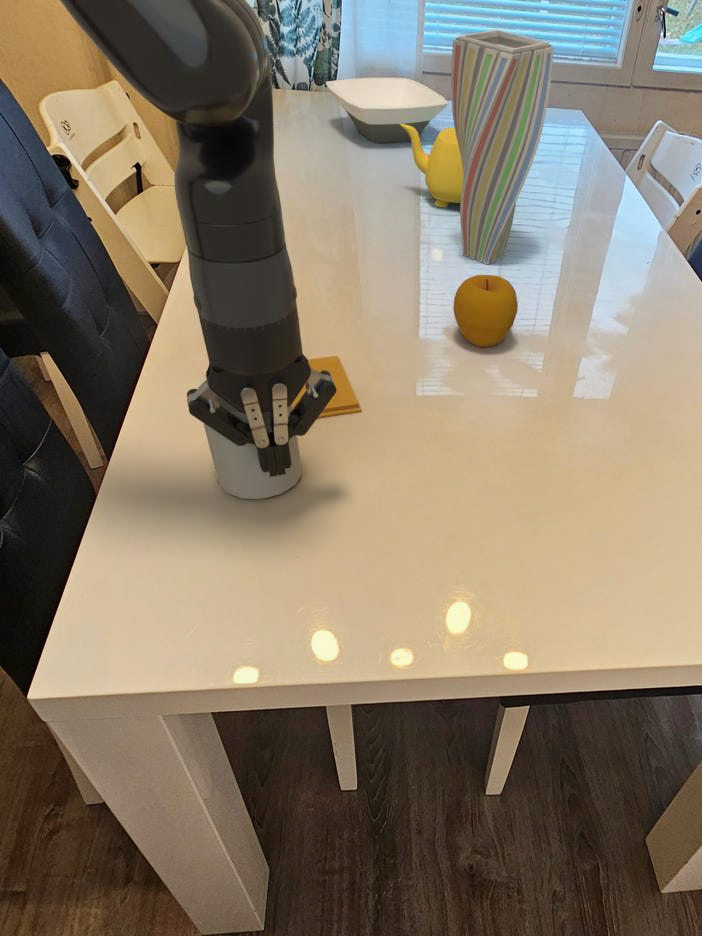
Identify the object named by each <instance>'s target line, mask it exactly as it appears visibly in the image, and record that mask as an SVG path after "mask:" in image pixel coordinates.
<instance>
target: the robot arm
mask: <svg viewBox="0 0 702 936" xmlns="http://www.w3.org/2000/svg"><path fill="white" fill-rule="evenodd" d="M59 2H60V3H61V4H62V5H63V7H64V8H65V10H66V12H68V14H69V15H70V16H71V17H72V19H73V20H74V22H76V24H77V26H79V28H80V29H81V30H82V31H83V32H84V33H85V34H86V36H87V37H88V38H89V40H91V42H93V44H94V45H95V46H96V48H98V50H99V51H100V52H101V54H103V56H104V57H105V58H106V60H108V62H109V63H110V64H111V65H112V66H113V67H114V68H115V69H116V71H117V72H118V73H119V74H120V75H121V76H122V77H123V79H124V80H125V81H126V82H127V83H128V84H129V85H130V86H131V87H132V88H133V89H134V90H135V91H136V92H137V93H139V95H140V96H142V97H143V98H144V99H145V100H146V101H148V102H149V103H150V104H151V105H153V107H155V108H156V109H157V110H159V111H161V112H162V113H163V114H165V115H166V116H168V118H171V119H173V120H174V121H175V123H174V124H175V128H176V134H177V140H178V155H177V160H176V165H175V169H174V177H173V178H174V179H173V181H174V182H173V183H174V193H175V199H176V205H177V209H178V214H179V218H180V222H181V228H182V232H183V236H184V240H185V244H186V250H187V255H188V270H189V278H190V285H191V287H192V288H191V289H192V292H193V302H194V306H195V308H196V310H197V314H198V319H199V323H200V328H201V332H202V337H203V341H204V345H205V350H206V354H207V359H208V367H207V369H206V372H205V377H206V378H205V379H207V382H206V383H204V384H203V385H202V386H201V387H200V388H199V389H198V388H191V389H189V390H187V392H186V401H187V408H188V412H189V414H190V415H191V416H192V417H194V418H196V419H197V420H198V421H200V422H201V423H202V424H203V425H204V424H206V425H207V426H209V427H210V428H212V429H213V430H215V431H216V432H218V433H219V434H221V435H222V436H224V437H225V438H227V439H228V440H230V441H231V442H233V443H234V444H236V445H237V446H243V445H245V444H247V443H250V444H253V445H255V446H256V448H257V454H258V459H259V463H260V467H261V470H262V471H263V472H269V474H270V477H273V476H279V475H284V474H286V472H285V469H287V468H290V467H291V464H292V463H291V456H290V449H289V440H290V438H292V437H293V436H295V435H297V437H303V436H305V435H306V434H307V433H308V432H309V430H310V429H311V428H312V427H313V425H314V423H315V422H316V421H317V419H319V418H318V416H319V415H320V414H321V412H322V411H323V410H324V408H325V407H326V406H327V404H328V403H329V401H330V400H331V399H332V397H333V396H334V395H335V393H336V391H337V390H336V387H335V384H334V382H333V379H332V377H331V374H330V373H329V372H328V371H326V370H324V371H321V372H318V371H316V370H314V369H312V368H311V367H310V365H309V362H308V358H307V357H306V355H304V353H303V344H302V337H301V336H302V335H301V328H300V320H299V311H298V305H297V298H298V293H297V291H298V290H297V287H296V285H295V279H294V272H293V267H292V263H291V259H290V256H289V255H290V254H289V252H288V248H287V243H286V242H287V241H286V235H285V227H284V226H285V225H284V219H283V211H282V203H281V196H280V192H279V191H280V190H279V185H278V182H277V176H276V175H277V174H276V165H275V151H274V150H275V149H274V148H275V129H274V128H275V127H274V125H275V124H274V100H273V99H274V96H273V82H272V81H273V80H272V70H271V69H272V67H271V60H270V51H269V48H268V43H267V39H266V36H265V35H266V34H265V31H264V29H263V27H262V24H261V22H260V19H259V18H258V16H257V15H256V12H255V11H254V10H253V8H252V7H251V5H250V4H249V3H248V1H247V0H59ZM305 383H306V385H305ZM304 385H305V387H306V392H305V393H304V394H303V396H302V397H301V399H300V400H299V401H298V403H297V404H296V406H295V407H294V409H293V410H292V411H291V413H290V415H289V416H288V409H287V407H289V406H290V405H291V404H292V403H293V402H294V400H295V399H296V397H297V396H298V394H299V393H300V391H301V390H302V388H303V386H304ZM216 394H217V395H218V396H219V397H221V398H222V399H223V400H224V401H226V402H227V403H228V404H230V405H231V406H232V407H234V408H235V409H236V410H237V411H239V412H241V413H244V414H247V417H248V421H249V423H244V422H243V421H242V420H240V419H239V418H238V417H236V416H235V415H233V414H232V413H230V412H229V411H228V410H226V409H225V408H223V407H222V406H221V405H219V401H218V397H217V396H216ZM265 412H270V425H271V429H272V432H270V434H269V433H268V432H267V429H266V427H265V424H264V420H263V416H262V413H265ZM270 437H271V438H270ZM277 472H278V473H277Z"/></svg>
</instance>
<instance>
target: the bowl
mask: <svg viewBox="0 0 702 936" xmlns="http://www.w3.org/2000/svg"><path fill="white" fill-rule="evenodd" d="M325 85H326V87H327V89H328V91H329V92H330V93H331V94H332V96H333V97H334V98H335V100H336V101H337V102H338V103H339V105H340V106H341V107H342V108H343V109H344V110H345V112H346V114H347V115H348V118H349V119H350V120H351V122H352V123H353V125H354V126H355V128H356V130H357V131H358V132H359V133H360V134H361V135H362V136H363V137H364V138H366V139H367V140H368V141H370V142H372V143H375V144H393V143H396V144H397V143H404V142H411V138H410V136H409V134H408V132H407V131H406V130H405V129H404V128H403V127H402V126H401V125H400V124H405V125H409V126H412V127H414V128H415V129H416V130H417V132H418V134H419V136H420V135H421V133H422V132H423V131H424V130H425V128H426V127H427V126H428V125H429V123H430V122H432V120H434V119H435V118H436V117H437V116H438V115H439V114H440V113H441V112H442V111H443V110H444V109H445V108H446V107H447V106H448V105H449V101H447V100H446V98H445V97H444V96H442V95H441V94H439V93H437V92H436V91H435V90H433V89H431V88H430V87H427V86H426V85H424V84H422V83H420V82H418V81H416V80H413V79H411V78H408V77H361V78H360V77H358V78H344V79H335V80H328V81H325Z"/></svg>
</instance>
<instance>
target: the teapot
mask: <svg viewBox="0 0 702 936" xmlns="http://www.w3.org/2000/svg"><path fill="white" fill-rule="evenodd" d="M400 125H401V126H402V127H403V128H404V129H405V130H406V131H407V132H408V134H409V136H410V138H411V141H410V142H411V147H412V156H413V160H414V163H415V165H416V168H417V169H418V170H419V171H420V172H421V173H422V174H424V181H425V185H426V187H427V190H428V192H429V193H430V195H431V197H432V198H434V199H435V201H434V205H435V206H436V207H438V208H439V207H440V208H446V207H448V206H449V205H450V203H455V204H461V195H462V189H463V166H462V159H461V155H460V150H459V146H458V142H457V137H456V132H455V127H447V128H443V129H442V130H441V131H439V133H438V134H437V136H436V138H435V139H434V142H433V145H432V147H431V149H430V152H429V154H427V153H426V152H425V151H424V149H423V148H422V144H421V138H420V135H419V134H418V132H417V130H416V129H415V128H414V127H412V126H409V125H405V124H400Z"/></svg>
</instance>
